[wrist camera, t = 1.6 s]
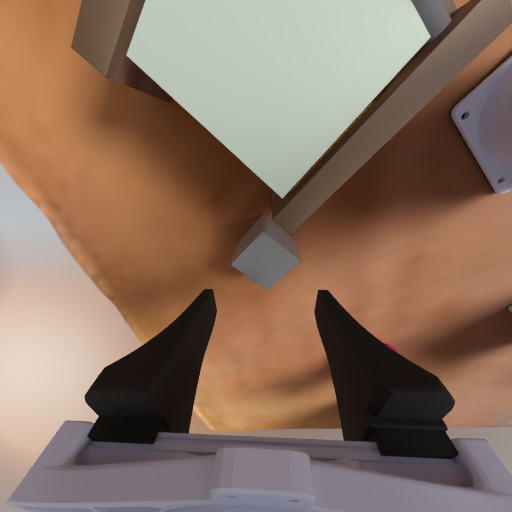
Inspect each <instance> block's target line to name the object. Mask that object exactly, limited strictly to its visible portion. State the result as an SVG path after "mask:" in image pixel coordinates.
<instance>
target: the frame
mask: <svg viewBox="0 0 512 512" xmlns="http://www.w3.org/2000/svg"><path fill="white" fill-rule="evenodd" d="M442 1H443V3H444V5H445V7H446V9H447V11H448V13H449V15H450V17H451V19H452V20H451V22H450V23H449V24H448V26H447V27H446V28H445V29H444V30H443V31H442V32H441V33H440V34H439V35H438V36H437V37H436V38H435V39H433V40H432V41H431V42H430V43H429V44H427V45H426V46H424V47H421V48H420V49H419V50H418V51H417V53H416V54H415V55H414V56H413V57H412V58H411V59H410V60H409V61H408V62H407V63H406V64H405V66H404V67H403V68H402V69H401V70H400V71H399V72H398V73H397V74H396V75H395V76H394V78H393V79H392V80H391V81H390V82H389V83H388V84H387V85H386V86H385V87H384V89H385V92H384V93H383V94H382V95H381V96H380V97H379V98H378V99H377V100H376V101H375V102H374V103H373V105H372V106H371V107H370V108H369V109H368V110H367V111H366V112H365V113H364V114H363V115H362V116H361V117H360V119H359V120H358V121H357V122H356V123H355V124H354V125H353V126H352V127H351V128H350V129H349V130H348V131H347V133H346V134H345V135H344V136H343V137H342V138H341V139H340V140H339V141H338V142H337V143H336V144H335V146H334V147H333V148H332V149H331V150H330V151H329V152H328V153H327V154H326V155H325V156H324V157H323V158H322V160H321V161H320V162H319V163H318V164H317V165H316V166H315V167H314V168H313V169H312V170H311V171H310V172H309V174H308V175H307V176H306V177H305V178H304V179H303V180H302V181H301V182H300V183H299V184H298V185H297V186H296V188H295V189H294V190H293V191H292V190H290V191H289V192H288V193H287V194H286V195H285V196H284V197H283V198H281V197H280V196H279V195H278V194H277V193H276V192H275V191H273V193H272V194H271V205H272V217H273V221H275V222H276V223H277V224H278V225H279V226H280V227H282V228H283V229H284V230H285V231H286V232H287V233H289V234H292V233H293V232H294V231H295V230H296V229H297V228H298V227H299V226H300V225H301V224H302V223H303V222H304V221H305V220H306V219H307V218H308V217H309V216H310V215H311V214H312V213H314V212H315V211H316V210H317V209H318V208H319V207H320V206H321V205H322V204H323V203H324V202H325V201H326V200H327V199H328V198H329V197H330V196H331V195H332V194H333V193H334V192H335V191H337V190H338V189H339V188H340V187H341V186H342V185H343V184H344V183H345V182H346V181H347V180H348V179H349V178H350V177H351V176H352V175H353V174H354V173H355V172H356V171H357V170H358V169H360V168H361V167H362V166H363V165H364V164H365V163H366V162H367V161H368V160H369V159H370V158H371V157H372V156H373V155H374V154H375V153H376V152H377V151H378V150H379V149H380V148H382V147H383V146H384V145H385V144H386V143H387V142H388V141H389V140H390V139H391V138H392V137H393V136H394V135H395V134H396V133H397V132H398V131H399V130H400V129H401V128H402V127H403V126H405V125H406V124H407V123H408V122H409V121H410V120H411V119H412V118H413V117H414V116H415V115H416V114H417V113H418V112H419V111H420V110H421V109H422V108H423V107H424V106H425V105H426V104H428V103H429V102H430V101H431V100H432V99H433V98H434V97H435V96H436V95H437V94H438V93H439V92H440V91H441V90H442V89H443V88H444V87H445V86H446V85H447V84H448V83H450V82H451V81H452V80H453V79H454V78H455V77H456V76H457V75H458V74H459V73H460V72H461V71H462V70H463V69H464V68H465V67H466V66H467V65H468V64H469V63H470V62H471V61H473V60H474V59H475V58H476V57H477V56H478V55H479V54H480V53H481V52H482V51H483V50H484V49H485V48H486V47H487V46H488V45H489V44H490V43H491V42H492V41H493V40H495V39H496V38H497V37H498V36H499V35H500V34H501V33H502V32H503V31H504V30H505V29H506V28H507V27H508V26H509V25H510V24H511V23H512V6H511V3H510V1H509V0H470V1H469V2H467V3H466V4H465V5H463V6H462V7H460V8H459V9H456V6H455V4H454V2H453V0H442ZM144 3H145V0H82V3H81V8H80V12H79V16H78V20H77V25H76V29H75V33H74V37H73V42H72V46H71V48H72V49H74V50H75V51H76V52H77V53H78V54H79V55H81V56H82V57H83V58H84V59H85V60H86V61H88V62H89V63H90V64H91V65H92V66H93V67H95V68H96V69H97V70H98V71H99V72H100V73H102V74H103V75H104V76H105V77H107V78H109V79H112V80H114V81H117V82H119V83H122V84H124V85H127V86H129V87H132V88H134V89H137V90H139V91H142V92H144V93H147V94H149V95H152V96H154V97H157V98H159V99H162V100H164V101H167V102H169V99H170V97H171V96H170V95H169V94H168V93H167V92H166V91H165V90H164V89H162V88H161V87H160V86H159V85H158V84H157V83H156V82H155V81H154V80H153V79H152V78H151V77H149V76H148V75H147V74H146V73H145V72H144V71H143V70H142V69H141V68H140V67H139V66H137V65H136V64H135V63H134V62H133V61H132V60H131V59H130V58H129V57H128V56H127V52H128V49H129V46H130V43H131V40H132V38H133V35H134V32H135V29H136V26H137V23H138V20H139V17H140V14H141V12H142V9H143V6H144Z"/></svg>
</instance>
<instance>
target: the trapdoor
mask: <svg viewBox="0 0 512 512" xmlns="http://www.w3.org/2000/svg"><path fill="white" fill-rule="evenodd" d="M451 20H452V19H451V17H450V15H449V13H448V11H447V9H446V7H445V5H444V3H443V1H442V0H145V3H144V6H143V9H142V12H141V14H140V17H139V20H138V23H137V26H136V29H135V32H134V35H133V38H132V40H131V43H130V46H129V49H128V52H127V56H128V57H129V58H130V59H131V60H132V61H133V62H134V63H135V64H136V65H137V66H139V67H140V68H141V69H142V70H143V71H144V72H145V73H146V74H147V75H148V76H149V77H151V78H152V79H153V80H154V81H155V82H156V83H157V84H158V85H159V86H160V87H161V88H162V89H164V90H165V91H166V92H167V93H168V94H169V95H170V96H171V97H172V98H173V99H174V100H176V101H177V102H178V103H179V104H180V105H181V106H182V107H183V108H184V109H185V110H186V111H188V112H189V113H190V114H191V115H192V116H193V117H194V118H195V119H196V120H197V121H198V122H199V123H201V124H202V125H203V126H204V127H205V128H206V129H207V130H208V131H209V132H210V133H211V134H213V135H214V136H215V137H216V138H217V139H218V140H219V141H220V142H221V143H222V144H223V145H225V146H226V147H227V148H228V149H229V150H230V151H231V152H232V153H233V154H234V155H235V156H237V157H238V158H239V159H240V160H241V161H242V162H243V163H244V164H245V165H246V166H247V167H248V168H250V169H251V170H252V171H253V172H254V173H255V174H256V175H257V176H258V177H259V178H260V179H262V180H263V181H264V182H265V183H266V184H267V185H268V186H269V187H270V188H271V189H272V190H274V191H275V192H276V193H277V194H278V195H279V196H280V197H281V198H283V197H284V196H285V195H286V194H287V193H288V192H289V191H290V190H291V189H292V187H293V186H294V185H295V184H296V183H297V182H298V181H299V180H300V179H301V178H302V177H303V175H304V174H305V173H306V172H307V171H308V170H309V169H310V168H311V167H312V166H313V165H314V164H315V162H316V161H317V160H318V159H319V158H320V157H321V156H322V155H323V154H324V153H325V152H326V150H327V149H328V148H329V147H330V146H331V145H332V144H333V143H334V142H335V141H336V140H337V138H338V137H339V136H340V135H341V134H342V133H343V132H344V131H345V130H346V129H347V128H348V127H349V125H350V124H351V123H352V122H353V121H354V120H355V119H356V118H357V117H358V116H359V115H360V113H361V112H362V111H363V110H364V109H365V108H366V107H367V106H368V105H369V104H370V103H371V101H372V100H373V99H374V98H375V97H376V96H377V95H378V94H379V93H380V92H381V91H382V90H383V88H384V87H385V86H386V85H387V84H388V83H389V82H390V81H391V80H392V79H393V78H394V76H395V75H396V74H397V73H398V72H399V71H400V70H401V69H402V68H403V67H404V66H405V64H406V63H407V62H408V61H409V60H410V59H411V58H412V57H413V56H414V55H415V54H416V53H417V51H418V50H419V49H420V48H421V47H424V46H426V45H427V44H429V43H430V42H431V41H432V40H433V39H435V38H436V37H437V36H438V35H439V34H440V33H441V32H442V31H443V30H444V29H445V28H446V27H447V26H448V24H449V23H450V22H451Z"/></svg>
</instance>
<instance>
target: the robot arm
mask: <svg viewBox="0 0 512 512" xmlns="http://www.w3.org/2000/svg"><path fill="white" fill-rule="evenodd" d="M463 113H465V116H464V118H463V119H461V117H462V115H463ZM451 117H452V119H453V121H454V122H455V124H456V126H457V128H458V129H459V131H460V133H461V134H462V136H463V138H464V139H465V141H466V143H467V145H468V146H469V148H470V150H471V151H472V153H473V155H474V157H475V158H476V160H477V162H478V163H479V165H480V167H481V169H482V170H483V172H484V174H485V175H486V177H487V179H488V180H489V182H490V184H491V186H492V187H493V189H494V191H495V192H496V193H499V194H504V193H506V192H508V191H510V190H511V189H512V55H511V56H510V57H509V58H508V59H507V60H506V61H505V62H504V63H503V64H501V65H500V66H499V67H498V68H497V69H496V70H495V71H494V72H493V73H491V74H490V75H489V76H488V77H487V78H486V79H485V80H484V81H483V82H481V83H480V84H479V85H478V86H477V87H476V88H475V89H474V90H473V91H471V92H470V93H469V94H468V95H467V96H466V97H465V98H464V99H462V100H461V101H460V102H459V103H458V104H457V105H456V106H455V107H454V108H453V110H452V112H451ZM499 179H500V180H499ZM498 180H499V181H498ZM216 313H217V309H216V303H215V298H214V292H213V289H204V290H203V291H202V292H201V293H200V295H199V296H198V297H197V298H196V299H195V300H194V301H193V302H192V303H191V305H190V306H189V307H188V308H187V309H186V310H185V311H184V312H183V313H182V314H181V315H180V316H179V317H178V318H177V319H176V320H175V321H173V322H172V323H171V324H170V325H169V326H168V327H167V328H165V329H164V330H163V331H162V332H161V333H159V334H158V335H156V336H155V337H154V338H152V339H151V340H150V341H148V342H147V343H145V344H144V345H142V346H141V347H139V348H138V349H136V350H135V351H133V352H131V353H130V354H128V355H127V356H125V357H123V358H121V359H119V360H118V361H116V362H114V363H112V364H110V365H109V366H107V367H105V368H104V369H103V370H102V372H101V373H100V375H99V376H98V377H97V379H96V380H95V382H94V383H93V384H92V386H91V387H90V389H89V390H88V392H87V393H86V395H85V401H86V403H87V404H88V405H89V406H90V407H91V408H92V409H93V410H94V411H95V413H96V414H97V415H99V417H98V419H97V420H96V422H95V424H93V423H91V422H86V421H65V422H64V423H63V424H62V426H61V427H60V429H59V430H58V431H57V433H56V434H55V436H54V437H53V439H52V440H51V441H50V442H49V444H48V445H47V447H46V448H45V449H44V451H43V452H42V454H41V455H40V456H39V458H38V459H37V461H36V462H35V463H34V465H33V466H32V467H31V469H30V470H29V472H28V473H27V474H26V476H25V477H24V479H23V480H22V481H21V483H20V484H19V486H18V487H17V488H16V490H15V491H14V492H13V494H12V495H11V497H10V498H9V499H8V501H7V504H8V505H10V506H14V507H17V508H20V509H23V510H26V511H29V512H512V473H511V472H510V471H509V469H508V468H507V466H506V465H505V464H504V462H503V461H502V460H501V458H500V457H499V456H498V454H497V453H496V452H495V450H494V449H493V447H492V446H491V445H490V443H489V442H488V441H487V440H485V439H471V438H455V439H451V440H450V438H449V437H448V435H447V434H446V432H445V431H447V430H448V429H447V426H446V425H445V423H444V421H443V420H442V419H443V418H444V417H445V416H446V415H447V414H448V413H449V412H450V411H451V410H452V408H453V407H454V404H455V400H454V399H453V397H452V396H451V394H450V393H449V391H448V390H447V389H446V387H445V386H444V385H443V383H442V382H441V381H440V379H439V378H438V377H437V376H435V375H433V374H432V373H430V372H428V371H426V370H424V369H423V368H421V367H419V366H417V365H416V364H414V363H412V362H411V361H409V360H408V359H406V358H404V357H403V356H401V355H400V354H398V353H397V352H395V351H394V350H392V349H391V348H389V347H388V346H387V345H385V344H384V343H382V342H381V341H380V340H378V339H377V338H376V337H374V336H373V335H372V334H371V333H370V332H368V331H367V330H366V329H365V328H364V327H362V326H361V325H360V324H359V323H358V322H357V321H356V320H355V319H354V318H353V317H352V316H351V315H350V314H349V313H348V312H347V311H346V310H345V309H344V308H343V307H342V306H341V305H340V304H339V302H338V301H337V300H336V299H335V298H334V297H333V296H332V295H331V293H330V292H329V291H328V290H318V294H317V300H316V306H315V318H316V323H317V327H318V330H319V333H320V337H321V340H322V343H323V346H324V349H325V352H326V355H327V358H328V362H329V365H330V370H331V374H332V379H333V384H334V388H335V393H336V398H337V404H338V409H339V414H340V420H341V426H342V432H343V437H344V441H337V440H316V439H295V438H294V439H293V438H273V437H252V436H229V435H207V434H189V428H190V422H191V416H192V410H193V405H194V400H195V394H196V389H197V384H198V379H199V375H200V370H201V366H202V361H203V358H204V354H205V351H206V348H207V345H208V342H209V339H210V336H211V333H212V330H213V327H214V323H215V318H216Z"/></svg>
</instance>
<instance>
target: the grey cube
mask: <svg viewBox="0 0 512 512" xmlns="http://www.w3.org/2000/svg"><path fill="white" fill-rule="evenodd" d="M300 262H301V260H300V256H299V253H298V249H297V246H296V242H295V240H294V239H293V238H292V237H291V236H290V235H288V234H287V233H286V232H285V231H284V230H283V229H281V228H280V227H279V226H278V225H277V224H276V223H274V222H273V221H272V220H271V219H270V218H268V217H267V216H266V215H265V214H263V215H262V216H261V217H260V218H259V219H258V220H257V222H256V223H255V224H254V225H253V226H252V227H251V228H250V229H249V230H248V232H247V233H246V234H245V235H244V236H243V237H242V238H241V239H240V240H239V241H238V243H237V245H236V248H235V252H234V255H233V259H232V262H231V265H232V266H233V267H235V268H236V269H237V270H239V271H240V272H242V273H243V274H245V275H246V276H247V277H249V278H250V279H252V280H253V281H254V282H256V283H257V284H259V285H260V286H262V287H263V288H264V289H266V290H268V289H270V288H271V287H272V286H273V285H274V284H275V283H277V282H278V281H279V280H280V279H281V278H283V277H284V276H285V275H286V274H287V273H288V272H290V271H291V270H292V269H293V268H294V267H296V266H297V265H298V264H299V263H300Z"/></svg>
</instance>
